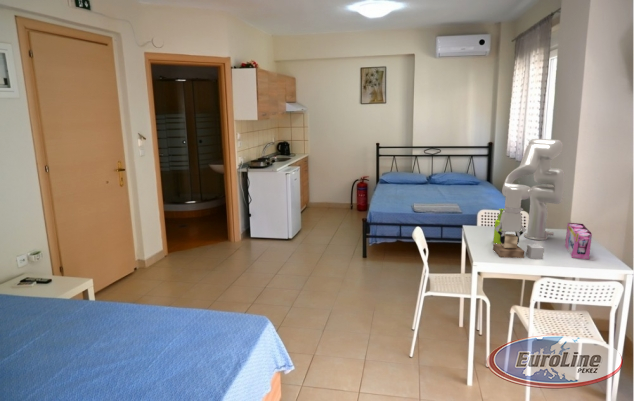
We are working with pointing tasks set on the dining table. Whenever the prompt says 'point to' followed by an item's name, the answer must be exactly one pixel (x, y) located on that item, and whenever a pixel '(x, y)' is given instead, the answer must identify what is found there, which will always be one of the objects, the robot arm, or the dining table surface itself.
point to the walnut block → (508, 251)
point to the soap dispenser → (497, 222)
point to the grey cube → (535, 251)
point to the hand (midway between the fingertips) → (509, 242)
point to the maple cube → (510, 241)
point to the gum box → (578, 240)
